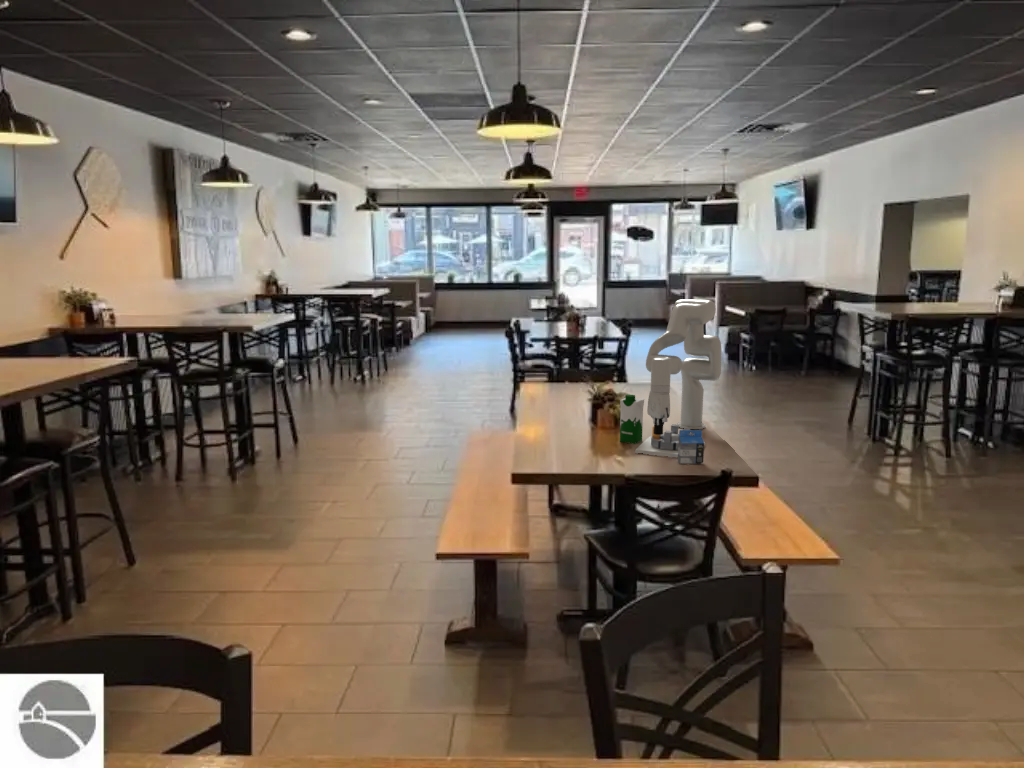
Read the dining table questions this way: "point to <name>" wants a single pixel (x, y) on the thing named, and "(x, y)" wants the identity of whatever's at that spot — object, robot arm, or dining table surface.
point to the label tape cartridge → (690, 447)
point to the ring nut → (666, 439)
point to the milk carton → (631, 419)
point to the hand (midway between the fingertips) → (658, 434)
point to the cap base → (651, 450)
